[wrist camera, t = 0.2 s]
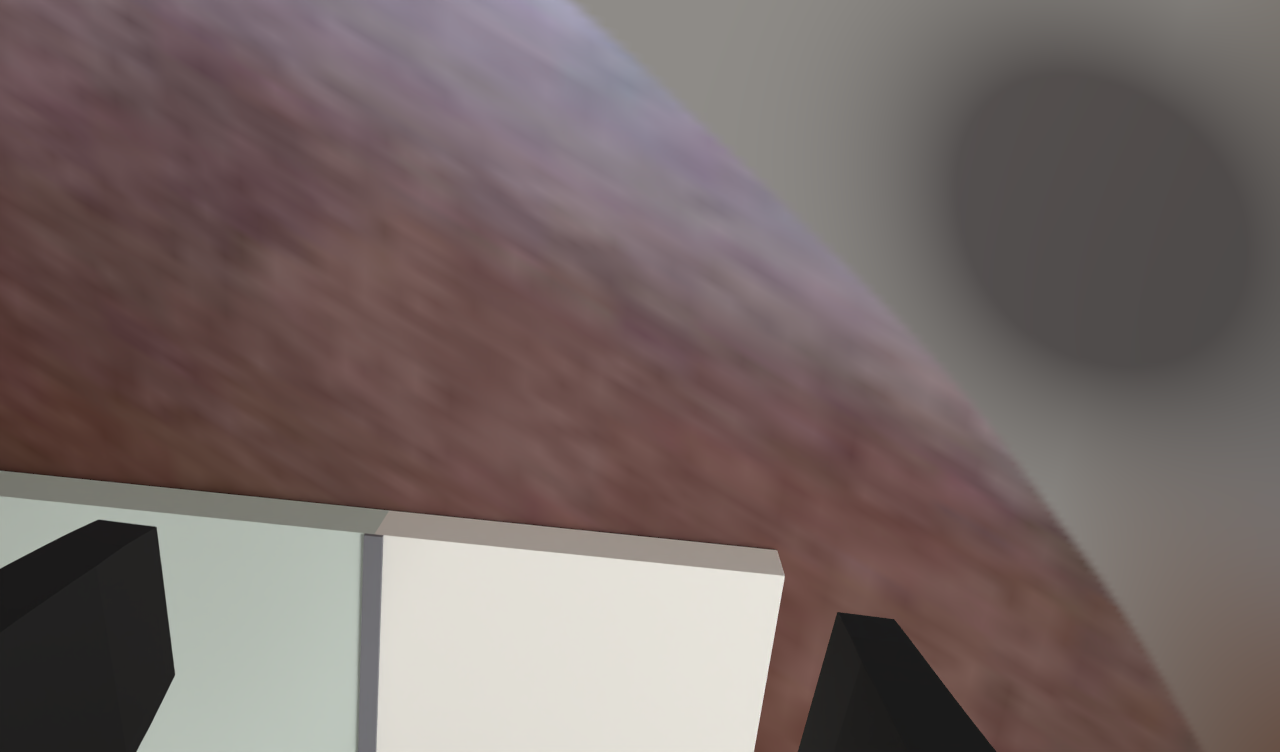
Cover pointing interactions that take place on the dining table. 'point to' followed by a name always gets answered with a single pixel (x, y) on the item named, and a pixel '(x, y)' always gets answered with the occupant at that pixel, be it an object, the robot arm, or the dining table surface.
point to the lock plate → (429, 626)
